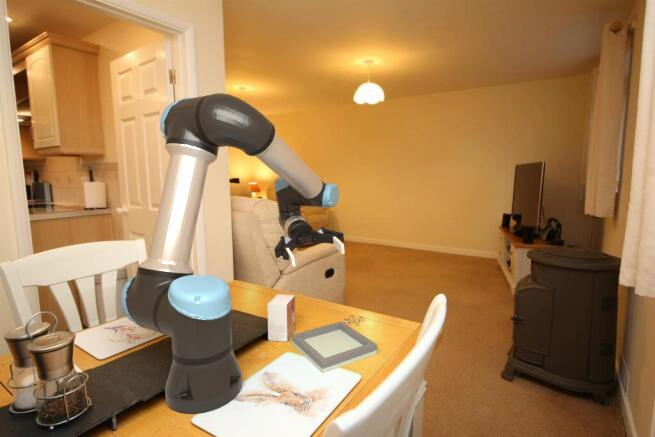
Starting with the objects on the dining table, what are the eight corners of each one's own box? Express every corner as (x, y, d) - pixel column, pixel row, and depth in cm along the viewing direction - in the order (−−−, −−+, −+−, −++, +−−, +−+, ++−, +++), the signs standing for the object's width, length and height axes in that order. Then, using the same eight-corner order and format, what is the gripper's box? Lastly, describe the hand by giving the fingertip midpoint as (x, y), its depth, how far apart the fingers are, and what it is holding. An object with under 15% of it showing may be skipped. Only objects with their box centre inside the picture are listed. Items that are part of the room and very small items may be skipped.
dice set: (342, 326, 103) (343, 320, 103) (348, 320, 108) (348, 314, 107) (358, 329, 101) (359, 323, 101) (364, 323, 106) (364, 317, 105)
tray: (322, 373, 78) (322, 362, 78) (291, 343, 91) (291, 334, 91) (376, 353, 86) (377, 344, 86) (341, 329, 100) (341, 321, 99)
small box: (287, 342, 92) (286, 305, 91) (267, 340, 93) (266, 303, 92) (295, 329, 100) (295, 294, 98) (277, 327, 101) (277, 293, 99)
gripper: (336, 232, 113) (363, 256, 94) (261, 250, 106) (274, 280, 87) (334, 211, 111) (361, 231, 91) (257, 228, 104) (268, 253, 84)
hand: (318, 255), depth 89 cm, fingers open, 13 cm apart
